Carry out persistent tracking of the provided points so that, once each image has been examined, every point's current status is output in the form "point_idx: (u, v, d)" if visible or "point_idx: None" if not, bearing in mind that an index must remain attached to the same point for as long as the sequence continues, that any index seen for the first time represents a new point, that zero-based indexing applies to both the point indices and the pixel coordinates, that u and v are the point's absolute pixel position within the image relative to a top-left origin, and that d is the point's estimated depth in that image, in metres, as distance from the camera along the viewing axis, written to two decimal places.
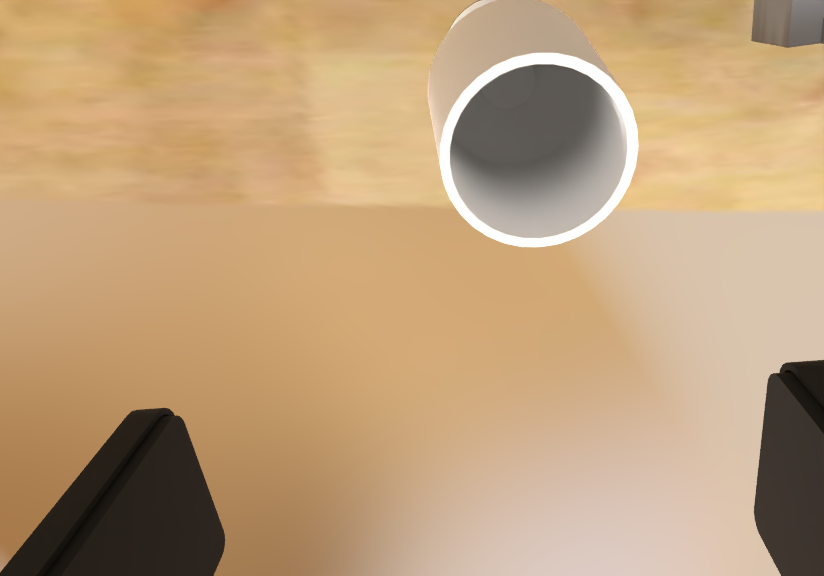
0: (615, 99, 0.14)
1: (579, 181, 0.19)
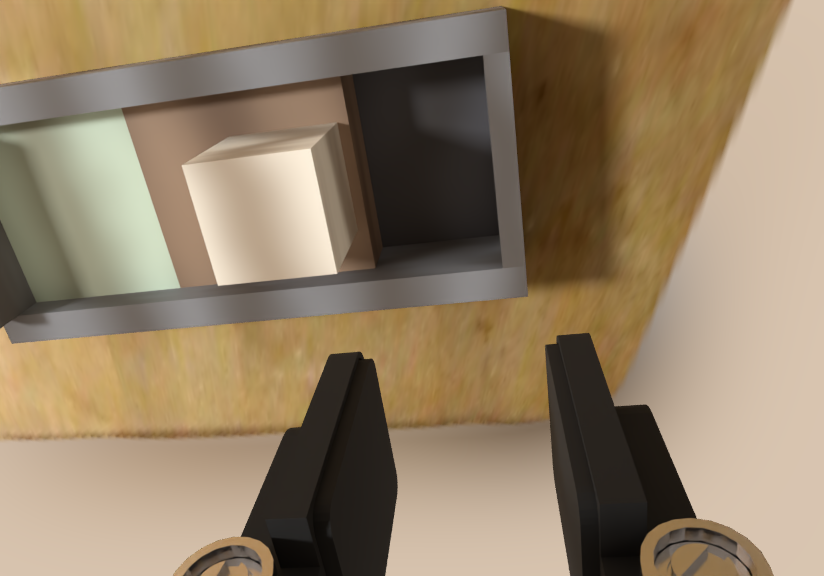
0: None
1: None
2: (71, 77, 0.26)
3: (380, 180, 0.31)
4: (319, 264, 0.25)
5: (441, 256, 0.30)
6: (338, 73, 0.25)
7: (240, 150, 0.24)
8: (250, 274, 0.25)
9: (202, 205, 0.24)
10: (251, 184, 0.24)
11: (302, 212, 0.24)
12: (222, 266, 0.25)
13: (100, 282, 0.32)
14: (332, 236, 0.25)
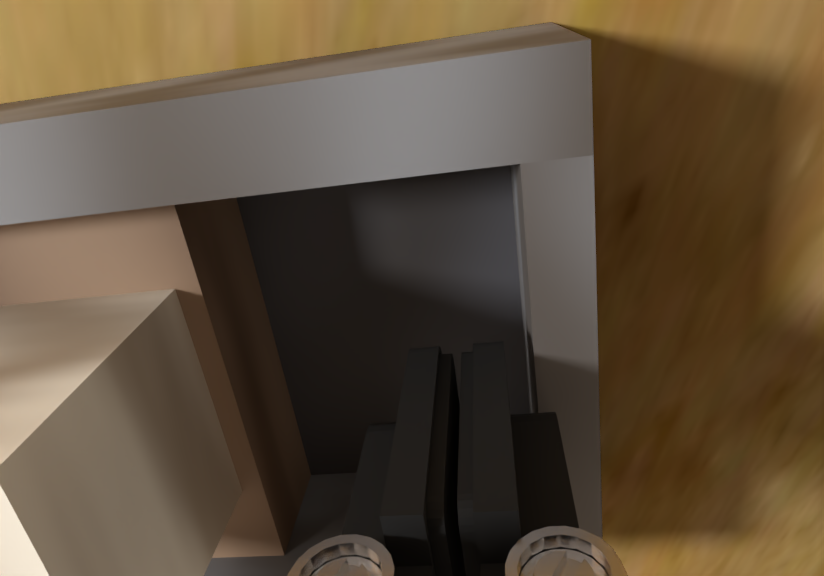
0: None
1: None
2: None
3: (299, 364, 0.16)
4: None
5: None
6: (138, 202, 0.10)
7: None
8: None
9: None
10: None
11: None
12: None
13: None
14: None
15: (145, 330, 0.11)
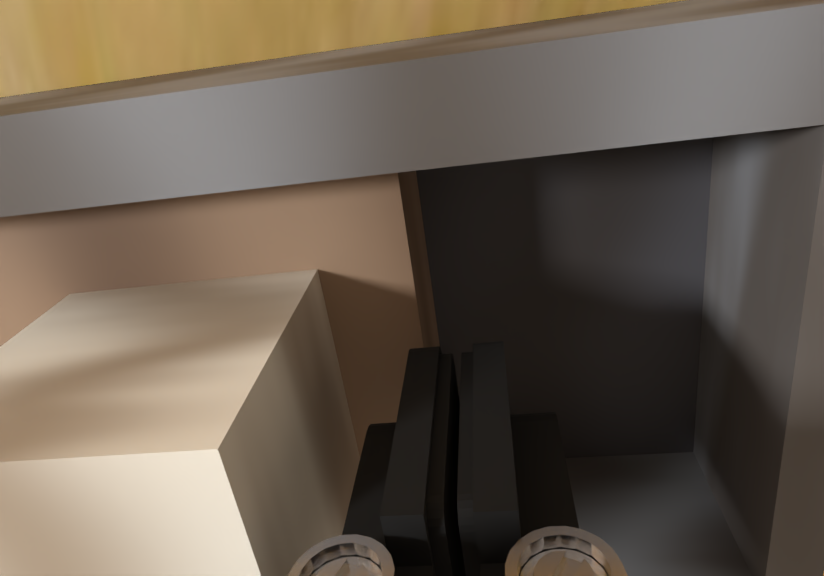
0: None
1: None
2: None
3: (459, 347, 0.15)
4: None
5: (590, 516, 0.14)
6: (400, 165, 0.09)
7: (40, 394, 0.09)
8: None
9: None
10: (50, 526, 0.08)
11: None
12: None
13: None
14: None
15: (301, 310, 0.10)
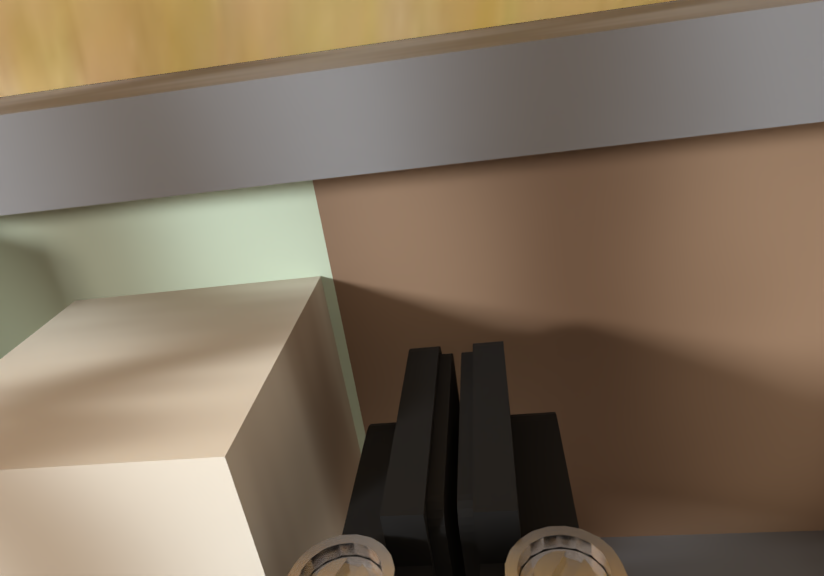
0: None
1: None
2: (205, 89, 0.09)
3: None
4: None
5: None
6: None
7: (48, 401, 0.09)
8: None
9: None
10: (60, 533, 0.08)
11: None
12: None
13: None
14: None
15: (305, 317, 0.11)
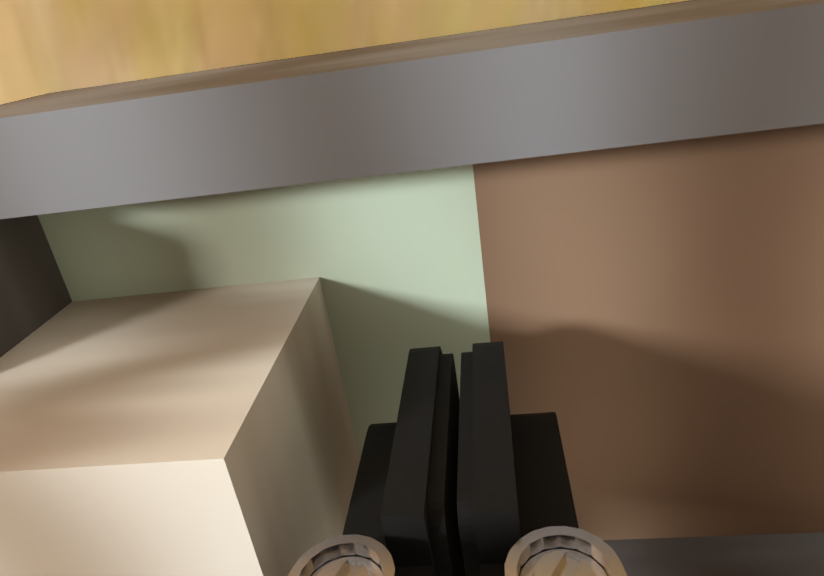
0: None
1: None
2: (398, 65, 0.08)
3: None
4: None
5: None
6: None
7: (45, 403, 0.09)
8: None
9: None
10: (56, 535, 0.08)
11: None
12: None
13: None
14: None
15: (304, 318, 0.10)
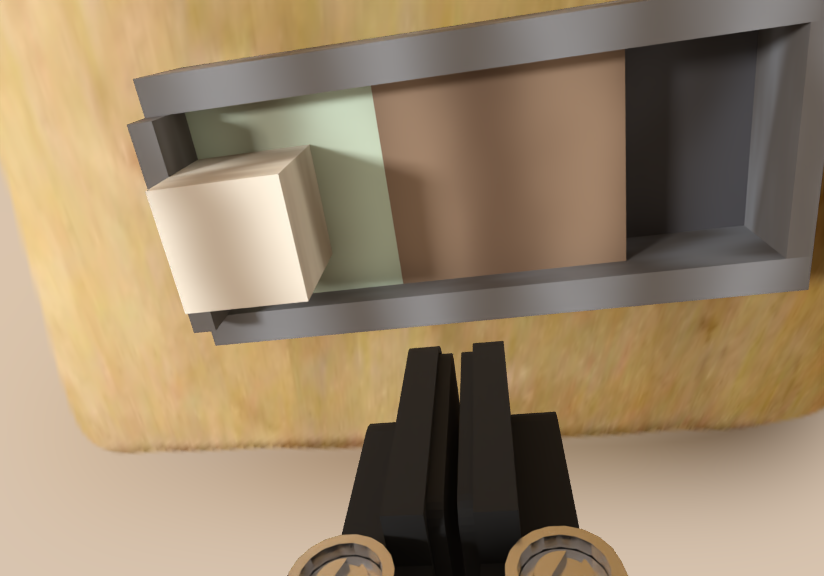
0: None
1: None
2: (336, 49, 0.24)
3: None
4: (289, 291, 0.24)
5: (695, 247, 0.28)
6: (642, 43, 0.23)
7: (207, 175, 0.24)
8: (218, 302, 0.24)
9: (167, 231, 0.23)
10: (218, 210, 0.23)
11: (271, 239, 0.23)
12: (189, 294, 0.24)
13: None
14: (303, 262, 0.24)
15: (303, 155, 0.26)
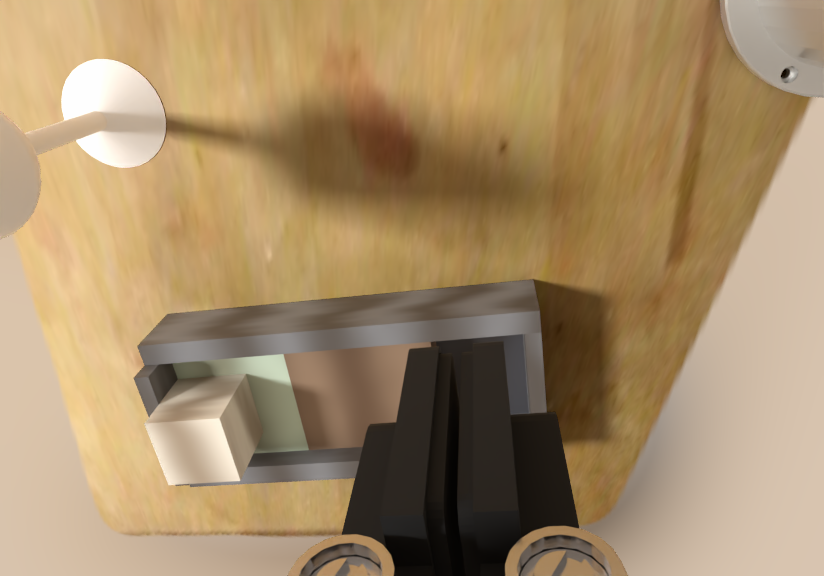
0: None
1: None
2: (256, 336, 0.40)
3: None
4: (229, 475, 0.41)
5: None
6: (431, 340, 0.39)
7: (180, 408, 0.40)
8: (188, 479, 0.41)
9: (157, 443, 0.40)
10: (186, 434, 0.39)
11: (217, 449, 0.40)
12: (170, 475, 0.41)
13: None
14: (237, 459, 0.41)
15: (240, 386, 0.42)
